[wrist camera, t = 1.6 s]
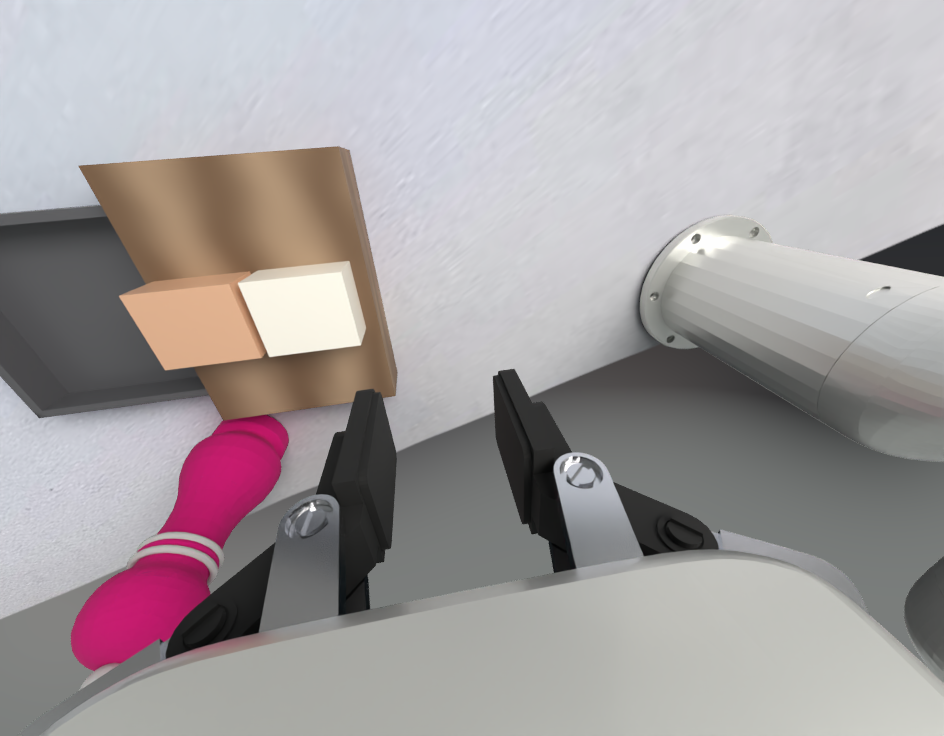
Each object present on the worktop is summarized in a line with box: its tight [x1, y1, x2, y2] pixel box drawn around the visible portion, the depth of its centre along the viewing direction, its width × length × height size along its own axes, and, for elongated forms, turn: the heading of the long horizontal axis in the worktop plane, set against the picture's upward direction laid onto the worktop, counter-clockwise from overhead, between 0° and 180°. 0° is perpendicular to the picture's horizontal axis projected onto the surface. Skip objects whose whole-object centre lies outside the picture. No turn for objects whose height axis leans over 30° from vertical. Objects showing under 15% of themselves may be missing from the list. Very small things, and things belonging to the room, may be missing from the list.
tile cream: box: [238, 261, 366, 357], centre depth 23 cm, size 6×5×3 cm
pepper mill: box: [71, 415, 289, 690], centre depth 25 cm, size 7×7×20 cm
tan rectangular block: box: [119, 271, 267, 370], centre depth 22 cm, size 6×5×3 cm
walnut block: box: [79, 147, 397, 420], centre depth 26 cm, size 14×18×4 cm
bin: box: [0, 205, 209, 418], centre depth 25 cm, size 13×14×3 cm
